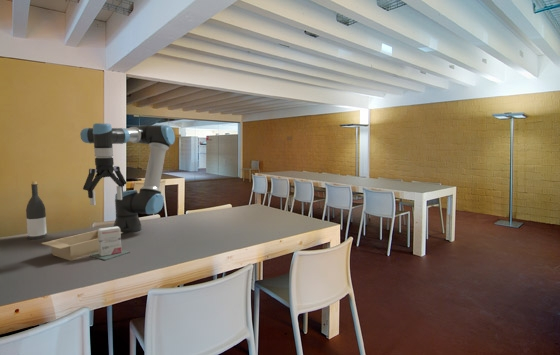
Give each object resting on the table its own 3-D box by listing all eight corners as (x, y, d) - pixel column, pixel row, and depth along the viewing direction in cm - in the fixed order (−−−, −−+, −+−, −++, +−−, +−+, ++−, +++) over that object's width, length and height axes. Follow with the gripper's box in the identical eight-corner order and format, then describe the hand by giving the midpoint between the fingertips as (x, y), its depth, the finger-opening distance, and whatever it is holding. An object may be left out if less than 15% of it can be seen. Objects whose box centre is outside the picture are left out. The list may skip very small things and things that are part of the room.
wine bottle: (28, 240, 165) (24, 182, 162) (27, 236, 171) (24, 181, 168) (47, 237, 170) (44, 181, 167) (46, 234, 176) (43, 180, 173)
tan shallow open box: (105, 240, 166) (104, 228, 166) (123, 245, 159) (123, 232, 159) (42, 257, 141) (41, 243, 140) (61, 263, 134) (60, 248, 133)
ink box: (119, 250, 151) (118, 225, 150) (121, 252, 147) (121, 227, 146) (98, 253, 145) (97, 228, 144) (100, 256, 142) (99, 230, 140)
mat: (114, 248, 154) (114, 247, 154) (129, 252, 149) (129, 251, 149) (90, 255, 143) (90, 255, 143) (105, 260, 138) (105, 259, 138)
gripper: (122, 155, 161) (124, 196, 164) (71, 158, 139) (75, 206, 141) (132, 155, 157) (134, 198, 160) (82, 159, 135) (86, 208, 138)
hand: (107, 202), depth 151 cm, fingers open, 13 cm apart
